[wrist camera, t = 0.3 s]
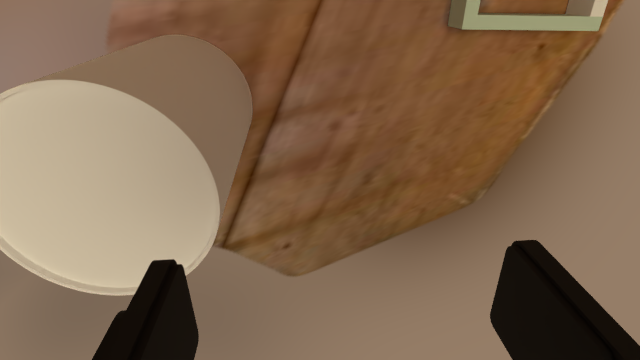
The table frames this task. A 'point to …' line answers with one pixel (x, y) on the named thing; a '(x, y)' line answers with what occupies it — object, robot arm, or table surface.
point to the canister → (121, 162)
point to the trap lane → (528, 17)
